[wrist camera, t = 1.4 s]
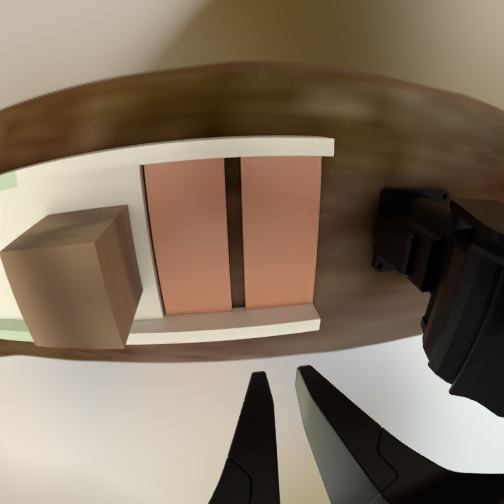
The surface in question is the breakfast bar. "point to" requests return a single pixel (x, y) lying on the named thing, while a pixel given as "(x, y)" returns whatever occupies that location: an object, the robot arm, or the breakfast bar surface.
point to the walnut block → (76, 278)
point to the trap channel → (190, 230)
